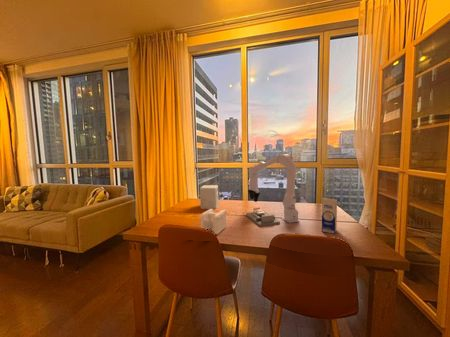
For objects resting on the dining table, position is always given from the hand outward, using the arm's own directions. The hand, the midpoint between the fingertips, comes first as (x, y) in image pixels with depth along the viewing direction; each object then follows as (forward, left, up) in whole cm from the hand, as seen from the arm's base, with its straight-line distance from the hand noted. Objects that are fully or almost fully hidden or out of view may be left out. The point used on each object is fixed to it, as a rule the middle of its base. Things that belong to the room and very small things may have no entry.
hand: (253, 200), depth 158 cm
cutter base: (-15, 0, -10) cm, 18 cm away
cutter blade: (-10, 0, -8) cm, 13 cm away
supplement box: (+28, +28, -10) cm, 41 cm away
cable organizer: (-24, +35, -10) cm, 44 cm away
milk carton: (-46, -28, -10) cm, 54 cm away
